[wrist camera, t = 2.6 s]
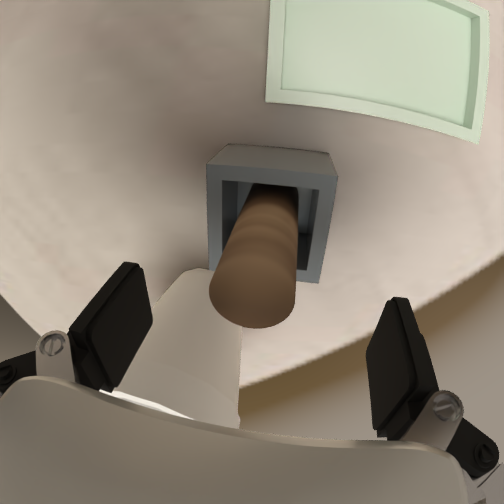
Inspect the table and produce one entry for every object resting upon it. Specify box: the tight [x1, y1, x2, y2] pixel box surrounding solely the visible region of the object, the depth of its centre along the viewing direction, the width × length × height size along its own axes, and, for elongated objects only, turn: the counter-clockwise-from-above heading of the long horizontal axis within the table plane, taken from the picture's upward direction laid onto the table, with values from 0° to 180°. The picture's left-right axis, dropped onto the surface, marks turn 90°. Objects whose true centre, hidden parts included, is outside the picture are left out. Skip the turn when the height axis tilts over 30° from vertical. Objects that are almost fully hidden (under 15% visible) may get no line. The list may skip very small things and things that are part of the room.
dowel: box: [209, 183, 299, 328], centre depth 15 cm, size 3×3×10 cm
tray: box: [265, 0, 489, 145], centre depth 13 cm, size 14×10×2 cm
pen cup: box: [206, 144, 338, 283], centre depth 18 cm, size 6×6×5 cm
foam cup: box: [99, 268, 242, 429], centre depth 20 cm, size 10×9×13 cm
